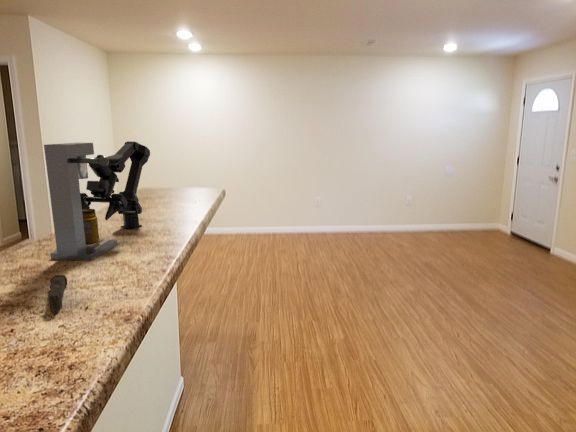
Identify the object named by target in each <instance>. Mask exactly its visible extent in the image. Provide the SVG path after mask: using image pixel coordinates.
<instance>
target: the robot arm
mask: <svg viewBox="0 0 576 432" xmlns="http://www.w3.org/2000/svg"><path fill="white" fill-rule="evenodd" d="M102 156H104V155H103V154H97V156H95V157H94V158H100V157H102ZM150 156H151V151H150V149H149V147H147V146H146V145H144V144H141V143H139V142H137V141H130V140H129V141H125V142H124V144H123V146H122V147H120V149H119V150H118V151H117V152H115V154H112V155H109V156H106V157H107V158H108V159H109V163H108V165H106V166H102V165H100V164H97V163H88V167H89V168H90V169H91V170H92V172H93V173H94V175H96V177H97V178H99V180H87V182H86V188H85V190H86V191H89V192H90V194H91V195H92V196H88V194H87V193H86V192H80V196H81V205H82V209H91V207H90V206H91V205H92V203H102V204H103V203H104V204H105V203H107V204H108V207H107V210H106V213H105V216H104V220H105V221H108V220H109V219H110V218H111V217H112V216H113V215H115V214H116V213H118V215H122V219H123V221H122V222H123V225H121V226H120V228H122V229H127V230H132V229H136V228H140V227H143V225H142V224H140V220H139V215H141V214H142V212H143V207H142V206H141V204H140V201H139V198H138V196H137V192H138V187H139V183H140V179H141V174H142V170H143V166H144V165H145V164H147V163H148V162H149V158H150ZM129 159H130V162H131V163H130V167H129V171H128V176H127V179H126V183H125V188H124V190H123V191H119V192H118V193H115V190H114V188H115V186H116V183H119V182H120V179H119V177H118V175H117V173H123V171H124V169H126V162H127V161H128V160H129Z"/></svg>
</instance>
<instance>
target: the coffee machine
mask: <svg viewBox="0 0 576 432" xmlns="http://www.w3.org/2000/svg"><path fill="white" fill-rule="evenodd" d="M43 148H44V156H45V158H44V159H45V165H46V172H47V182H48V188H49V196H50V197H49V198H50V205H51V213H52V220H53V229H54V238H55V245H56V250H54V251H52V252H51V253H50V259H51V260H65V261H67V260H69V261H93V260H94V259H96V258H98V257H100V256H101V255H103V254H105V253H106V252H108V251H110V250H111V249H113V248H114V247H117V246H118V240H117V239H111V238H103V239H104V240H103V241H101V242H99V243H97V244H95V245H93V246H86V243H85V234H84V224H83V215H82V205H81V196H80V193H81V190H80V189H81V188H80V180H86V179H89V172H88V164H89V163H97V164H100V165H102V166H106V165H108V163H109V159H108V158H107V157H108V156H105V155H103V156H102V157H100V158H95V157H94V158H93V157H91V158H90V157H87V156H91V155H92V156H93V155H95V151H94V149H95V148H94V142H67V143H65V142H64V143H49V144H43Z"/></svg>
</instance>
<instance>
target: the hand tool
mask: <svg viewBox="0 0 576 432" xmlns="http://www.w3.org/2000/svg"><path fill="white" fill-rule="evenodd" d="M49 282H50V284H49V290H50V291H49V292H48V300H49V302H48V303H49V309H50V311H51V312H52V314H53V315H56V314H58V312H59V311H60V310H61V308H62V307H63V297H64V293H65V290H66V289H65V288H66V287H67V286H68V278H67V277H66V275H64V274H56V275H53V276H52V277H51V278H50V279H49Z"/></svg>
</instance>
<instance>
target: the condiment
mask: <svg viewBox="0 0 576 432" xmlns="http://www.w3.org/2000/svg"><path fill="white" fill-rule="evenodd" d="M82 215H83V224H84V234H85V243H86V246H93V245H95V244H97V243H99V242H101V241H103V240H104V239H105V238H100V235H99V223H98V217H97V213H96V209H94V208H90V209H82Z"/></svg>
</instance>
